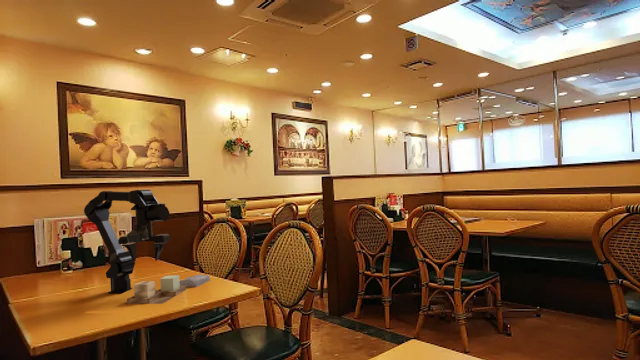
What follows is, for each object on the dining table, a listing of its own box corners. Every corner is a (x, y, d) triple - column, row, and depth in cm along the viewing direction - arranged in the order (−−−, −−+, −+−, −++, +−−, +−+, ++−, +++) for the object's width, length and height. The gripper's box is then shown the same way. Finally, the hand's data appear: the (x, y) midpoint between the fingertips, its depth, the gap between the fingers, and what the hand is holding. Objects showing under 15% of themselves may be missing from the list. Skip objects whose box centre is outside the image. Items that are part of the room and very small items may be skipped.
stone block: (176, 294, 156) (198, 289, 155) (173, 282, 157) (196, 277, 155) (191, 287, 168) (212, 282, 166) (189, 276, 168) (210, 271, 167)
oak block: (134, 301, 138) (133, 284, 138) (142, 297, 143) (141, 281, 143) (147, 301, 137) (147, 284, 137) (155, 297, 142) (154, 281, 142)
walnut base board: (125, 306, 136) (124, 299, 136) (152, 292, 153) (152, 286, 153) (163, 305, 134) (162, 299, 134) (186, 291, 152) (186, 285, 152)
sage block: (161, 294, 146) (160, 278, 146) (167, 291, 151) (167, 275, 151) (173, 294, 145) (173, 278, 145) (179, 290, 150) (179, 275, 150)
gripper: (108, 224, 146) (110, 265, 146) (155, 222, 144) (157, 264, 144) (126, 221, 157) (127, 260, 157) (170, 219, 155) (171, 258, 155)
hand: (145, 261), depth 153 cm, fingers open, 9 cm apart
